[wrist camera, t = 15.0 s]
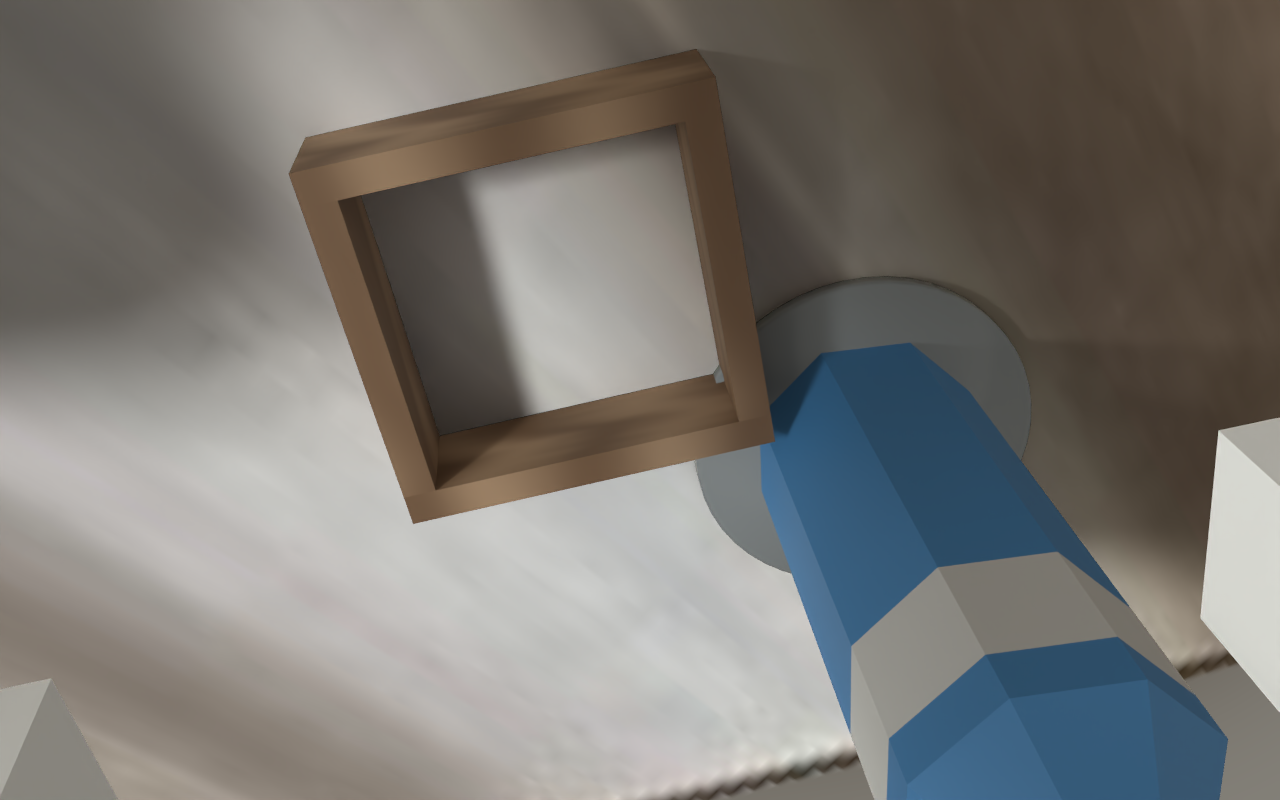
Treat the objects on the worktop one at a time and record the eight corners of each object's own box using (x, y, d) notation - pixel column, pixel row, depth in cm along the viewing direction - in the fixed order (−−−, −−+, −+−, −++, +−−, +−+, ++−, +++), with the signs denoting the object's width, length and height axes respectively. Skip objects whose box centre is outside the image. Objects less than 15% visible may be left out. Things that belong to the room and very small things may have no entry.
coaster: (722, 598, 53) (725, 610, 52) (665, 321, 46) (668, 329, 46) (1029, 529, 53) (1036, 539, 53) (1017, 241, 46) (1025, 248, 46)
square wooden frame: (418, 467, 48) (413, 523, 45) (305, 137, 41) (288, 173, 38) (754, 391, 48) (775, 441, 45) (696, 49, 41) (715, 77, 38)
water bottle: (804, 568, 52) (1033, 1165, 30) (714, 406, 47) (905, 966, 26) (1004, 475, 51) (1393, 1025, 29) (930, 298, 46) (1323, 791, 24)
